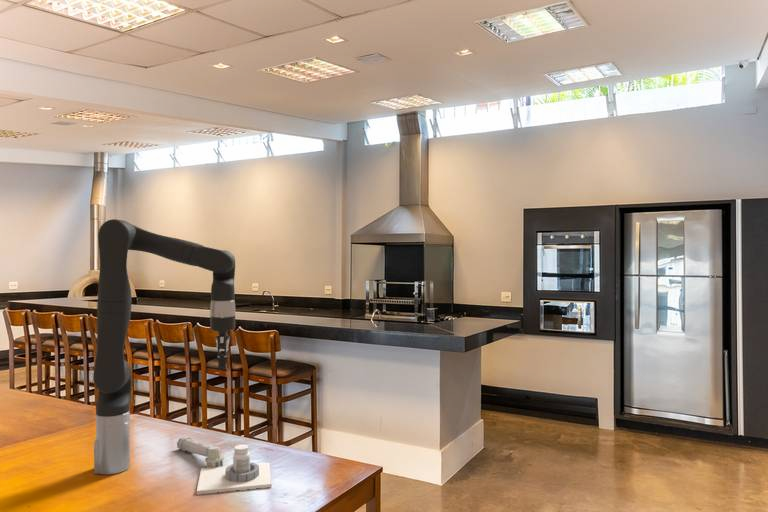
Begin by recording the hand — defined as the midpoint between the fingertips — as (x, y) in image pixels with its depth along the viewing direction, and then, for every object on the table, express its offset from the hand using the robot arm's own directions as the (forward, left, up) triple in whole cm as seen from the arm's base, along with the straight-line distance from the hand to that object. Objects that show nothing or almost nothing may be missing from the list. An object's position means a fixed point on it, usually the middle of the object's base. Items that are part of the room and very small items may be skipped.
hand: (222, 366), depth 176 cm
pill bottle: (+6, -14, -29) cm, 33 cm away
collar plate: (+4, -14, -30) cm, 33 cm away
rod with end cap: (-7, +5, -31) cm, 32 cm away
